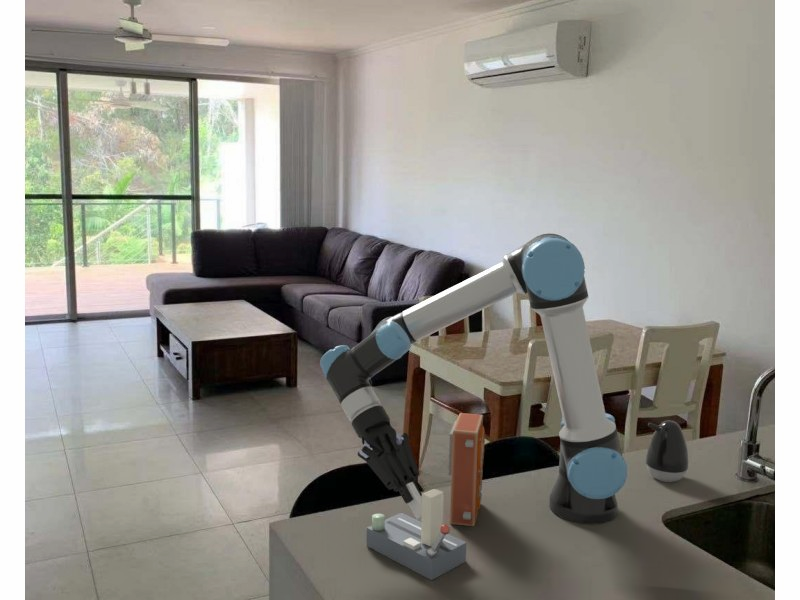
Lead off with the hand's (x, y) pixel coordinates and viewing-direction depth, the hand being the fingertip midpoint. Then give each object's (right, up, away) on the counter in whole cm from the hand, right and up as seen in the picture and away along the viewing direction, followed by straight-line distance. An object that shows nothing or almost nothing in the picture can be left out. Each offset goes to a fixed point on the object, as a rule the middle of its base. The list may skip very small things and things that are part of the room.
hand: (422, 514), depth 146 cm
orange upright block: (+10, -6, +21) cm, 24 cm away
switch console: (-1, -9, +3) cm, 9 cm away
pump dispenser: (+63, -3, +43) cm, 76 cm away
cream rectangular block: (+2, -5, -1) cm, 5 cm away
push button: (-9, -4, +4) cm, 11 cm away
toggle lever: (+1, -6, -6) cm, 8 cm away
